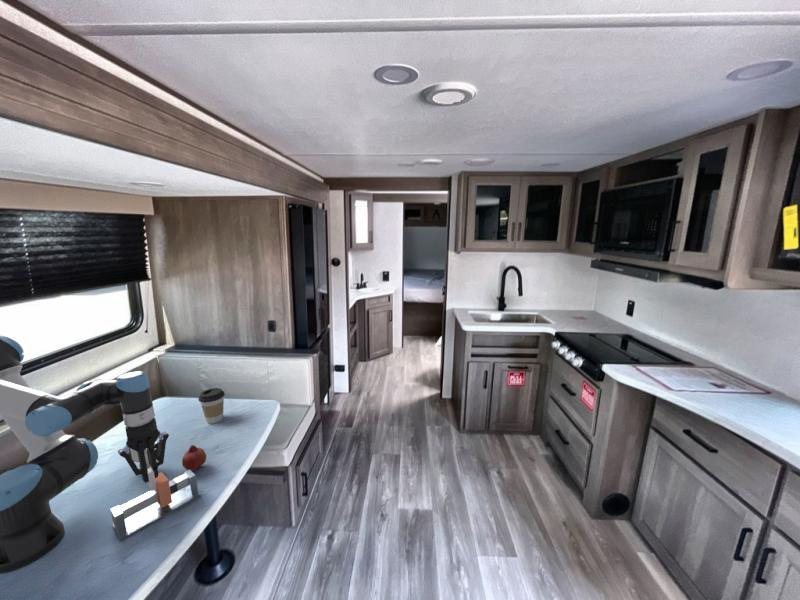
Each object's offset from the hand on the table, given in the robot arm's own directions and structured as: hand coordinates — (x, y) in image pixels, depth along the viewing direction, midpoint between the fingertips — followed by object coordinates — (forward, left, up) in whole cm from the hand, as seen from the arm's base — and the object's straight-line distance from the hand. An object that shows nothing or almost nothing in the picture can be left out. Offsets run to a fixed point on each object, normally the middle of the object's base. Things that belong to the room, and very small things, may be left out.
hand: (152, 488), depth 107 cm
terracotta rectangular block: (+2, 0, -6) cm, 7 cm away
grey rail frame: (+1, 0, -9) cm, 9 cm away
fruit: (+17, +13, -9) cm, 23 cm away
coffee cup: (+38, +45, -9) cm, 60 cm away
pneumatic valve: (+6, +28, -9) cm, 30 cm away
